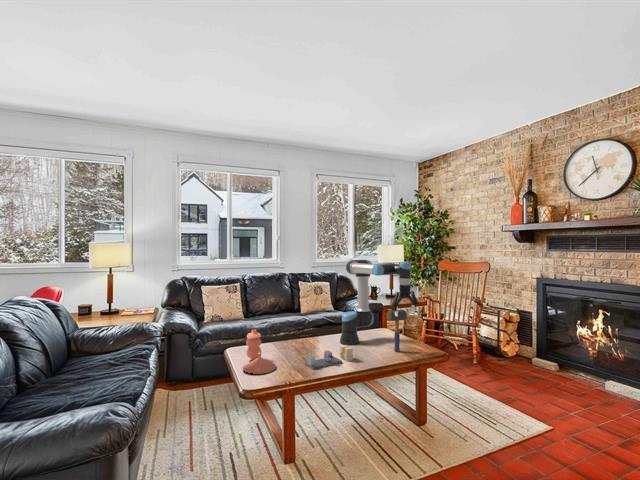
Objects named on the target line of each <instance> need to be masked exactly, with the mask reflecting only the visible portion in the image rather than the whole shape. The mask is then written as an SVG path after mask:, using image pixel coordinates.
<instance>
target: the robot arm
mask: <svg viewBox="0 0 640 480" xmlns="http://www.w3.org/2000/svg"><path fill="white" fill-rule="evenodd" d="M411 264H412V263H411V262H410V261H400V262H399V263H388V264H387V263H386V264H385V263H383V264H379V263H378V264H376V263H372V262H371V260H369V259H353V260H349V261H348V262H347V263H346V265H345V270H346V272H347V273H348V274H350V275H355V278H357V309H356V311H352V310H351V311H345V312H344V313H343V314H342V315H341V316H342V317H341V335H340V338H339V343H340V344H342V345H347V346H353V345H358V344H360V339H359V335H358V329H360V328H366V327H371V326H372V325H373V324H374V322H375V321H374V320H375V316H374V313H373V312H372V311H371V310H372V309H370V307H369V306H370V304H369V303H370V302H369V301H370V300H369V298H370V297H369V294H370V293H369V278H370V277H371V275H373V276H377V277H378V276H379V277H380V276H390V275H393V276H394V275H395V276H396V275H397V276H399V291H395V294H394V297H393V300H392V302H391V306H392V307H393V310H394V311H395V316H398V310H399V306H398V305H399V304H400V303H401V301H402V300H403V299H408V300H409V301H410V303H411V309H410V310H411V315H412V316H415V315H416V314H415V313H416V312H415V311H416V307H417V305H419V301H418V300H417V297H416V294H415V291H414V290H411V286H412V285H411V283H412V282H411V281H412V280H411V273H412V272H411V271H412V266H411Z"/></svg>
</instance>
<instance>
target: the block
mask: <svg viewBox="0 0 640 480" xmlns="http://www.w3.org/2000/svg"><path fill="white" fill-rule="evenodd" d="M339 359H340V360H342V361H343V360H344V361H345V362H350V361H353V360H354V348H353V347H351V346H350V345H345V344H342V345H339Z"/></svg>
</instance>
